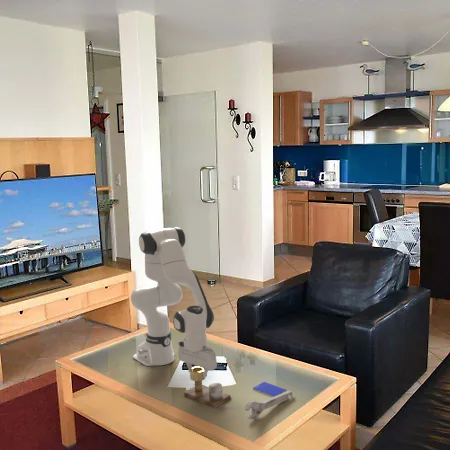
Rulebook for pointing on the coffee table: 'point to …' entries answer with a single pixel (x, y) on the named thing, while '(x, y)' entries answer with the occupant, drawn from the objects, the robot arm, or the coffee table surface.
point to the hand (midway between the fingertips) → (197, 374)
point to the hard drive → (269, 389)
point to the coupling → (196, 374)
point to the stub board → (208, 394)
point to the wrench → (265, 404)
